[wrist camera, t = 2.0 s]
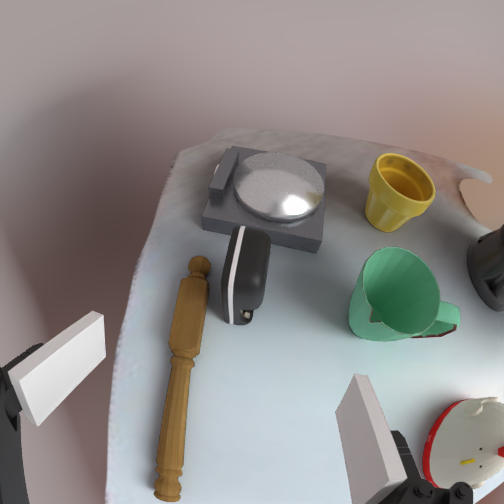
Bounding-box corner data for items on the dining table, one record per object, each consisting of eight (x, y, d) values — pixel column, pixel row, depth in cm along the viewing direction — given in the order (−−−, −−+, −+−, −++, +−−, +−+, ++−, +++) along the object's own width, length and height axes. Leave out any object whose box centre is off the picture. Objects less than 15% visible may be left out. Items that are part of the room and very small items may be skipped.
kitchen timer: (419, 419, 25) (505, 405, 13) (481, 388, 27) (553, 360, 14) (422, 503, 18) (499, 519, 5) (485, 462, 19) (556, 454, 7)
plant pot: (403, 253, 39) (435, 214, 30) (347, 223, 41) (369, 178, 33) (411, 211, 44) (436, 173, 35) (362, 185, 46) (381, 143, 38)
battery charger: (256, 330, 32) (266, 291, 22) (223, 325, 32) (218, 283, 22) (264, 278, 35) (275, 222, 26) (234, 273, 35) (235, 216, 26)
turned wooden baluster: (149, 498, 18) (188, 250, 34) (156, 491, 20) (191, 262, 36) (178, 505, 18) (212, 252, 34) (183, 497, 20) (213, 264, 36)
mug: (320, 344, 31) (352, 317, 22) (339, 276, 36) (369, 233, 27) (417, 374, 29) (467, 356, 20) (426, 309, 34) (469, 278, 25)
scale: (322, 177, 46) (328, 155, 42) (316, 253, 38) (326, 231, 33) (229, 158, 47) (229, 136, 43) (200, 229, 39) (196, 205, 34)
